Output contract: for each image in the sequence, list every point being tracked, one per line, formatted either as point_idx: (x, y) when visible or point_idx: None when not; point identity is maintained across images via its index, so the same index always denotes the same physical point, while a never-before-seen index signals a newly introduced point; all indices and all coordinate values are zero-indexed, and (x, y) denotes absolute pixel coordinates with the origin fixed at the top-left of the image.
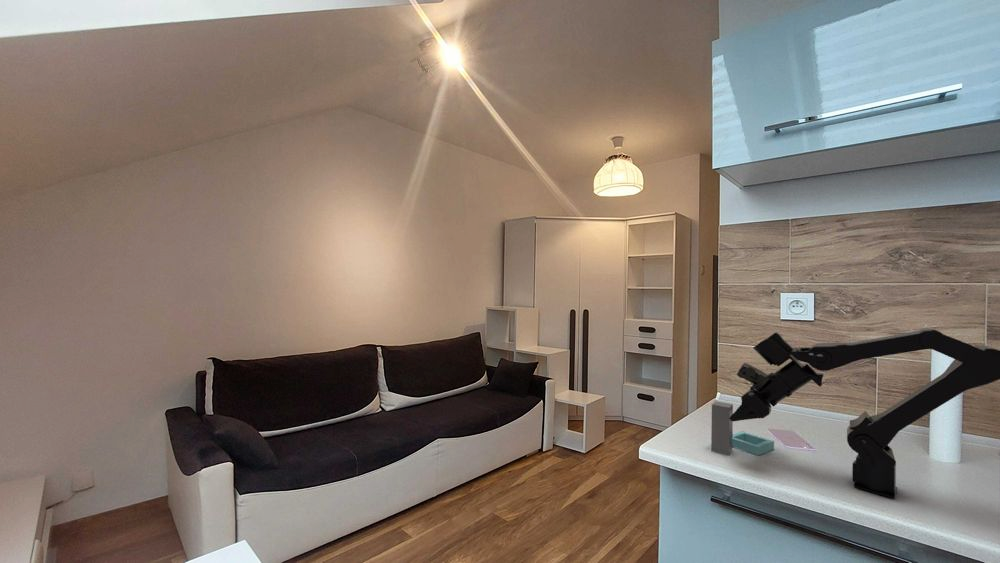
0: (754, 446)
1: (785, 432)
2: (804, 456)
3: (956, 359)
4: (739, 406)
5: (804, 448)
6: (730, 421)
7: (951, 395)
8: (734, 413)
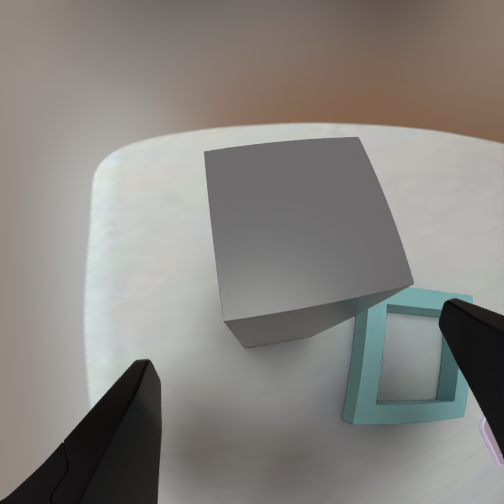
0: (354, 410)
1: None
2: (445, 485)
3: None
4: (470, 315)
5: (495, 452)
6: (280, 329)
7: None
8: (97, 410)
